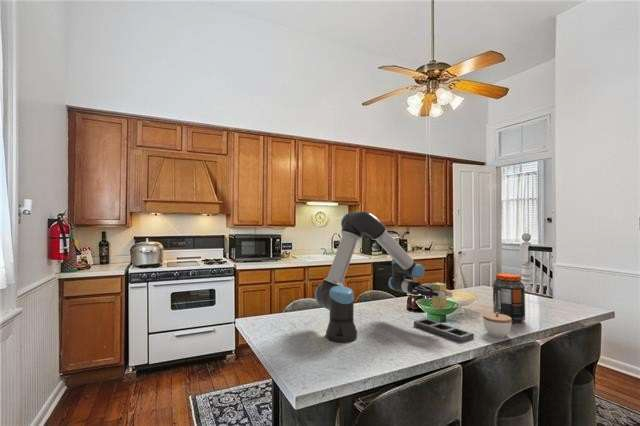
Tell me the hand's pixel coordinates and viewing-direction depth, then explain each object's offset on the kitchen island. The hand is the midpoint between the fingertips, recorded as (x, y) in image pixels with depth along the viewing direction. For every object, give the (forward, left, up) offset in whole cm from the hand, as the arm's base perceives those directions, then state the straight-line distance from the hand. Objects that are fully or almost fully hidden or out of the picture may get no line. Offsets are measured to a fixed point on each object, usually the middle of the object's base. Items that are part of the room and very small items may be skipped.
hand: (448, 295), depth 159 cm
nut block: (0, +5, -7) cm, 9 cm away
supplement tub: (+51, -3, -20) cm, 54 cm away
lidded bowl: (+21, -13, -20) cm, 31 cm away
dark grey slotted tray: (+1, +4, -20) cm, 20 cm away
